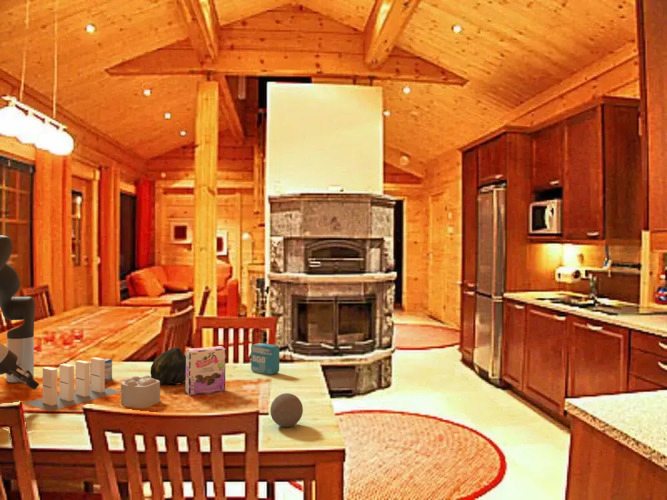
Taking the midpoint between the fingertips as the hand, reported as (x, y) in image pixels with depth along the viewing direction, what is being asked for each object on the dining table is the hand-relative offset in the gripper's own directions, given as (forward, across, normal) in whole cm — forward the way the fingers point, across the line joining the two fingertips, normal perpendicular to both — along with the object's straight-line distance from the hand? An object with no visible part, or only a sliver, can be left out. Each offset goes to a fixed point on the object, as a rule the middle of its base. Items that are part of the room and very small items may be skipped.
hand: (36, 386), depth 176 cm
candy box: (+38, -32, -27) cm, 56 cm away
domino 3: (+17, 0, -7) cm, 18 cm away
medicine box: (+28, +11, -17) cm, 34 cm away
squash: (+38, -12, -28) cm, 49 cm away
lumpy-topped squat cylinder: (+22, -22, -11) cm, 33 cm away
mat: (+15, 0, -4) cm, 16 cm away
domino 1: (+8, 0, +2) cm, 8 cm away
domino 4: (+21, 0, -11) cm, 24 cm away
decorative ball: (+29, -79, -18) cm, 86 cm away
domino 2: (+12, 0, -3) cm, 13 cm away
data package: (+62, -32, -52) cm, 87 cm away
